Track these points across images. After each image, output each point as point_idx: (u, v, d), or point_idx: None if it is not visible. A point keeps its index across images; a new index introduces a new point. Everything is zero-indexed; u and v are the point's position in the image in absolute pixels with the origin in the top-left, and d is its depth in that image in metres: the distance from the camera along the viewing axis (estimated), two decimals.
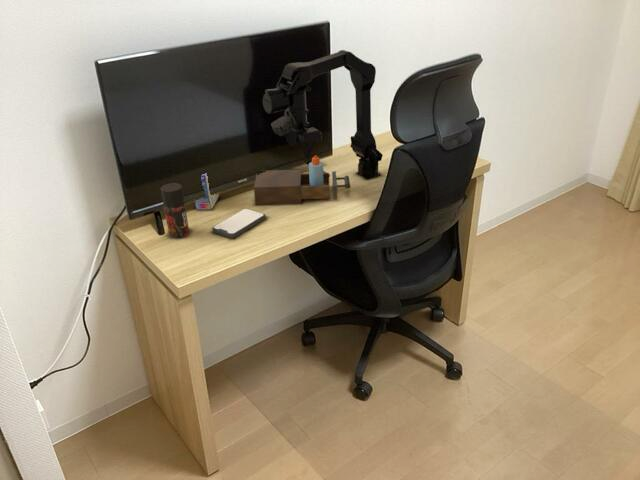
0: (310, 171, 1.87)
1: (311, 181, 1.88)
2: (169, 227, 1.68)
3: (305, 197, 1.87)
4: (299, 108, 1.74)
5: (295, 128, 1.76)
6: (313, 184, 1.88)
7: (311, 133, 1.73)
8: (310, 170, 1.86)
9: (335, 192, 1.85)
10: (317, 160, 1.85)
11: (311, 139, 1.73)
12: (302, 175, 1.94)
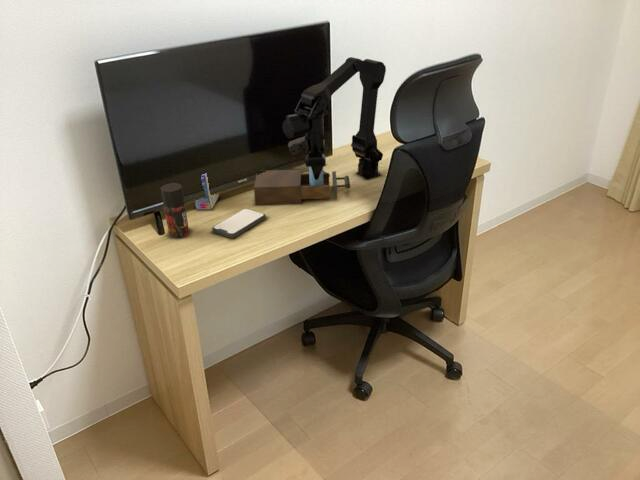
0: (310, 171, 1.87)
1: (311, 181, 1.88)
2: (169, 227, 1.68)
3: (305, 197, 1.87)
4: (318, 132, 1.79)
5: (307, 150, 1.81)
6: (313, 184, 1.88)
7: (313, 158, 1.76)
8: (310, 170, 1.86)
9: (335, 192, 1.85)
10: None
11: (312, 164, 1.77)
12: (302, 175, 1.94)
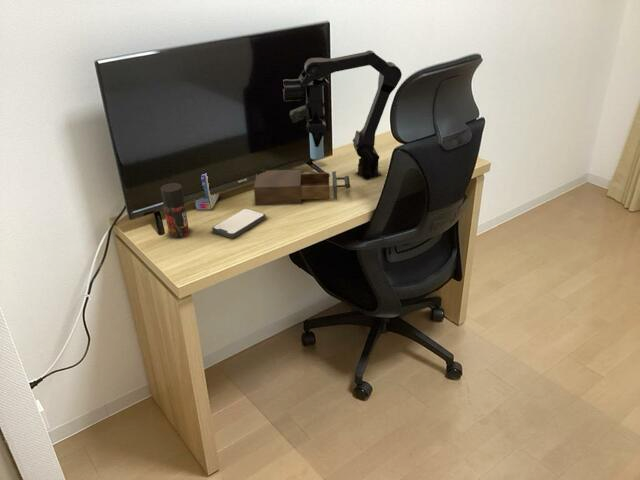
0: (311, 139, 1.94)
1: (312, 149, 1.96)
2: (169, 227, 1.68)
3: (305, 197, 1.87)
4: (313, 100, 1.86)
5: (308, 118, 1.89)
6: (314, 151, 1.96)
7: (314, 125, 1.84)
8: (311, 138, 1.94)
9: (335, 192, 1.85)
10: None
11: (313, 130, 1.85)
12: (302, 175, 1.94)
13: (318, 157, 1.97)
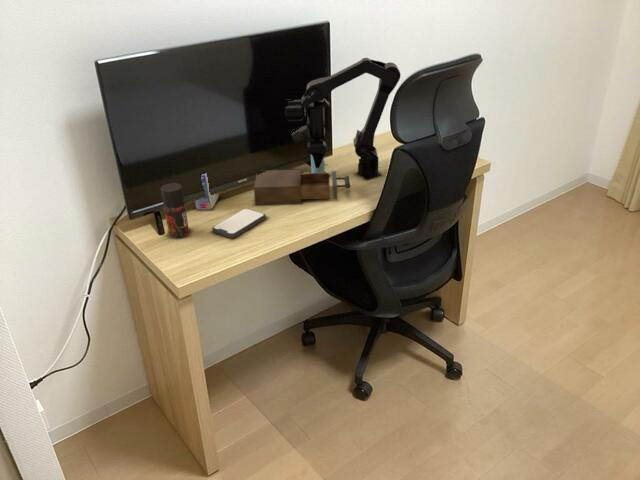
0: (312, 159, 2.00)
1: (313, 168, 2.02)
2: (169, 227, 1.68)
3: (305, 197, 1.87)
4: (313, 121, 1.92)
5: (309, 138, 1.95)
6: (314, 171, 2.02)
7: (314, 145, 1.90)
8: (312, 158, 2.00)
9: (335, 192, 1.85)
10: None
11: (314, 151, 1.90)
12: (302, 175, 1.94)
13: None
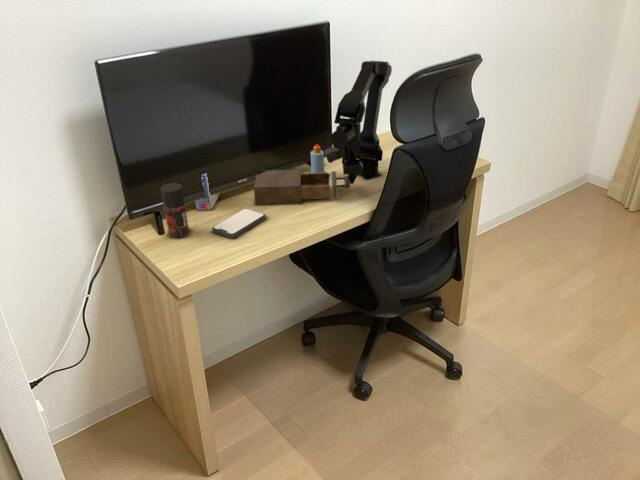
0: (312, 159, 2.00)
1: (313, 168, 2.02)
2: (169, 227, 1.68)
3: (305, 197, 1.87)
4: (358, 139, 1.81)
5: (344, 158, 1.83)
6: (314, 171, 2.02)
7: (351, 166, 1.78)
8: (312, 158, 2.00)
9: (335, 192, 1.85)
10: (318, 149, 1.99)
11: (350, 172, 1.78)
12: (302, 175, 1.94)
13: None
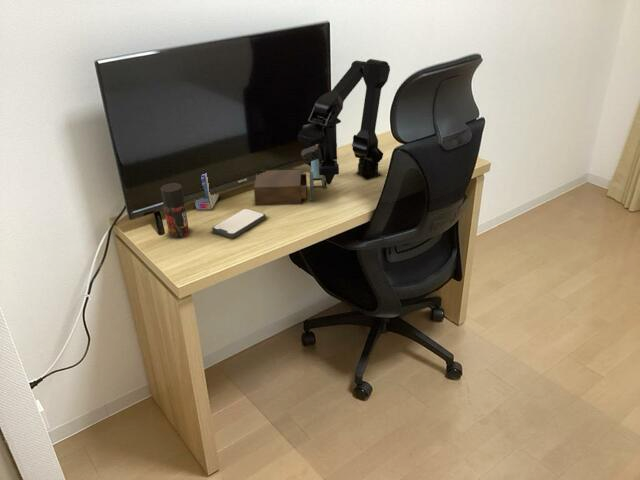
0: None
1: (313, 168, 2.02)
2: (169, 227, 1.68)
3: None
4: (332, 140, 1.80)
5: (320, 159, 1.83)
6: (314, 171, 2.02)
7: (326, 167, 1.78)
8: None
9: (311, 193, 1.85)
10: None
11: (326, 173, 1.78)
12: None
13: (319, 176, 2.03)
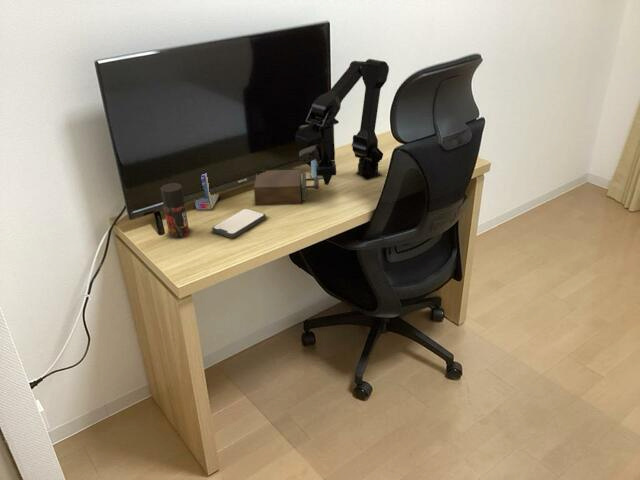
0: None
1: (313, 168, 2.02)
2: (169, 227, 1.68)
3: None
4: (329, 141, 1.80)
5: (317, 159, 1.83)
6: (314, 171, 2.02)
7: (324, 168, 1.78)
8: None
9: (303, 193, 1.85)
10: None
11: (323, 173, 1.78)
12: None
13: (319, 176, 2.03)
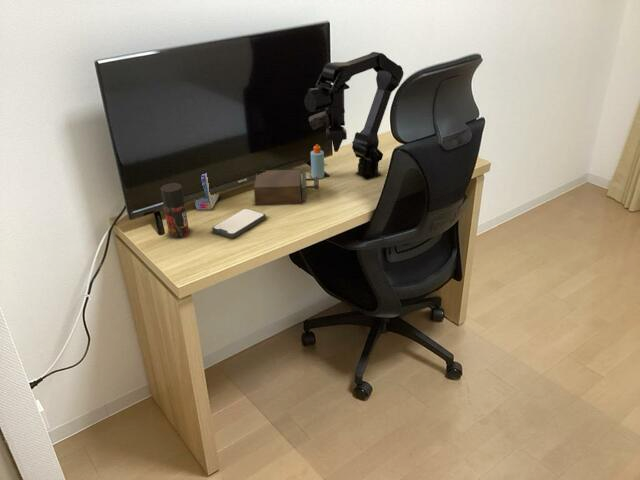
0: (312, 159, 2.00)
1: (313, 168, 2.02)
2: (169, 227, 1.68)
3: None
4: (339, 106, 1.80)
5: (327, 125, 1.82)
6: (314, 171, 2.02)
7: (334, 132, 1.77)
8: (312, 158, 2.00)
9: (303, 193, 1.85)
10: (318, 149, 1.99)
11: (334, 138, 1.78)
12: None
13: (319, 176, 2.03)
